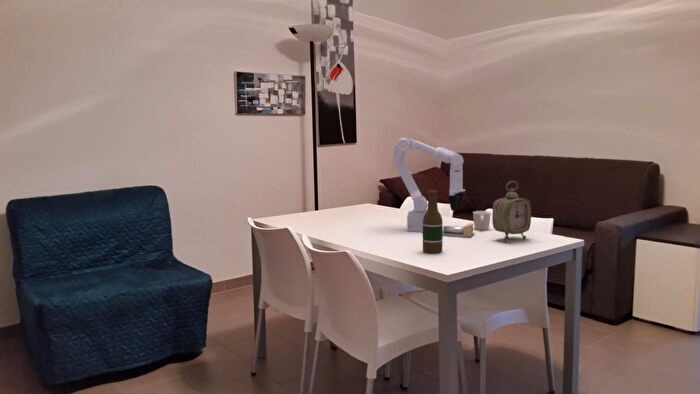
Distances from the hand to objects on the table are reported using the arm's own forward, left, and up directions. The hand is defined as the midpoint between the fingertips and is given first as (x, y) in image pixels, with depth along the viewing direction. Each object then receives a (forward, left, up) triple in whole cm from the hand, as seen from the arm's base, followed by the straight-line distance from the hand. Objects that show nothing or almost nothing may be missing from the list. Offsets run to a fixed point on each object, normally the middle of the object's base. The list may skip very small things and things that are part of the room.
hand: (456, 209), depth 252 cm
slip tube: (+3, -10, -10) cm, 15 cm away
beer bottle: (+3, -44, -10) cm, 46 cm away
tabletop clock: (+27, -12, -10) cm, 31 cm away
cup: (+11, +6, -10) cm, 16 cm away
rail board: (+1, -10, -10) cm, 14 cm away
